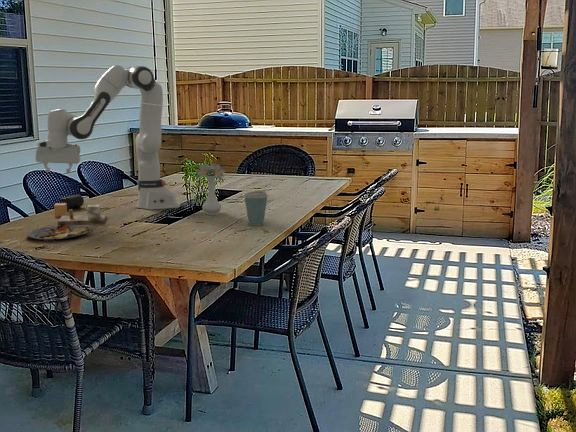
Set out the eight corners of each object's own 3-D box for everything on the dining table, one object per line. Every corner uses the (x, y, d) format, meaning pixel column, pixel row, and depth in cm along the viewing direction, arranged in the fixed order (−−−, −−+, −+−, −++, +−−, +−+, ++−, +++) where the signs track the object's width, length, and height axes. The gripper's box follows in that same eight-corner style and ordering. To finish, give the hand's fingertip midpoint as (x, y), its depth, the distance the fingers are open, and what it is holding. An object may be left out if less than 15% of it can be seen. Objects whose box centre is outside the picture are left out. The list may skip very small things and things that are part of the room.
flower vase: (227, 210, 330) (227, 161, 325) (221, 217, 312) (220, 165, 307) (202, 210, 331) (201, 161, 326) (194, 216, 313) (193, 165, 308)
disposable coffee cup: (250, 227, 288) (249, 194, 286) (240, 223, 298) (240, 190, 295) (271, 225, 293) (271, 192, 290) (261, 221, 303) (261, 189, 300)
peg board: (106, 217, 310) (105, 203, 309) (103, 223, 297) (103, 208, 295) (62, 218, 307) (61, 204, 305) (57, 224, 293) (56, 209, 292)
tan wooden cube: (67, 214, 318) (66, 203, 317) (65, 216, 313) (65, 204, 312) (56, 214, 317) (55, 203, 316) (54, 216, 312) (54, 205, 311)
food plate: (69, 227, 287) (69, 219, 287) (101, 235, 273) (100, 227, 272) (16, 238, 269) (15, 230, 268) (46, 247, 254) (46, 238, 253)
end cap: (71, 211, 327) (70, 197, 326) (60, 210, 330) (59, 196, 328) (84, 207, 336) (83, 194, 335) (73, 206, 339) (72, 194, 337)
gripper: (81, 143, 314) (82, 172, 317) (37, 142, 312) (38, 170, 315) (78, 144, 308) (79, 173, 311) (34, 143, 306) (34, 172, 309)
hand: (58, 172), depth 313 cm, fingers open, 8 cm apart
